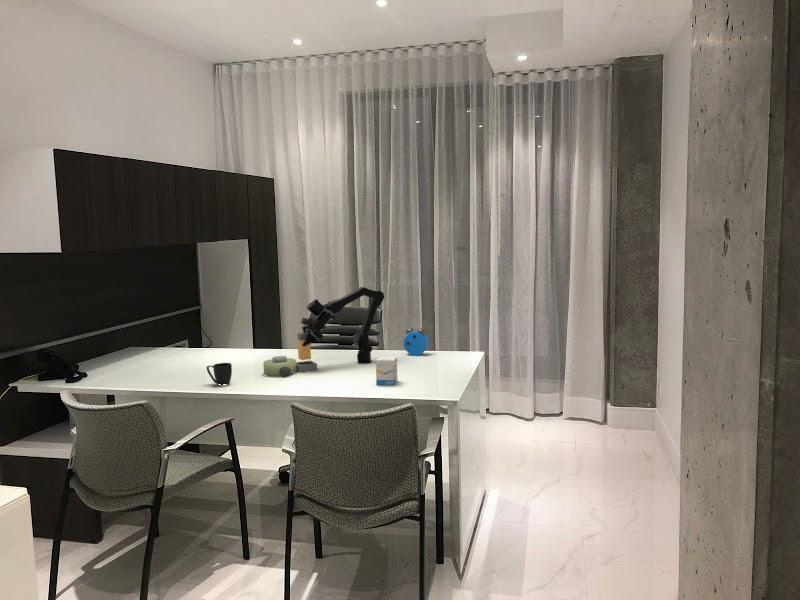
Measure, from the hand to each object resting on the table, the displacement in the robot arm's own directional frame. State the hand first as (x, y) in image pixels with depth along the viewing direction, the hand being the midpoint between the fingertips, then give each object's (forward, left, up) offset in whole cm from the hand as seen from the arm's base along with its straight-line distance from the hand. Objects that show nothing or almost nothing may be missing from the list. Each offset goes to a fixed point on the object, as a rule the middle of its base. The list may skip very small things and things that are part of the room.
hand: (301, 345), depth 329 cm
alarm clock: (-53, -40, -13) cm, 68 cm away
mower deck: (+6, +4, -13) cm, 15 cm away
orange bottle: (-1, -1, -7) cm, 7 cm away
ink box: (-48, +25, -13) cm, 56 cm away
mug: (+31, +30, -13) cm, 45 cm away
